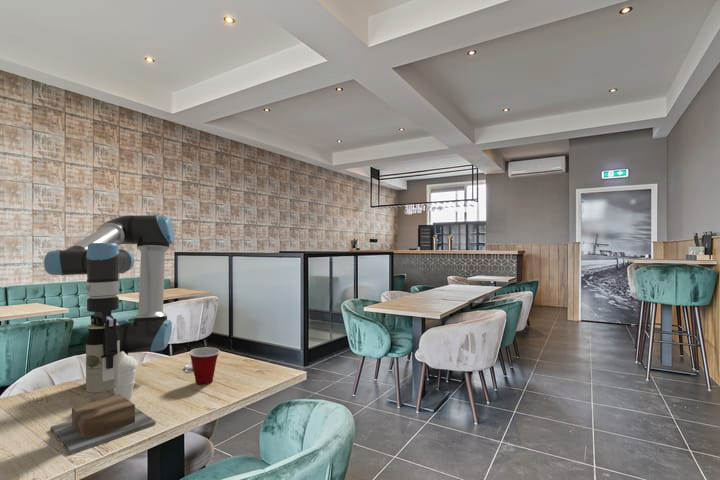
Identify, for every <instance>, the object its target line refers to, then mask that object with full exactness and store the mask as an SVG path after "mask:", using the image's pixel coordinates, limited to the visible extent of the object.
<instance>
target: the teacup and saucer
mask: <svg viewBox="0 0 720 480" xmlns="http://www.w3.org/2000/svg"><path fill="white" fill-rule="evenodd" d="M190 361H191V360H190ZM190 363H191V364H190ZM190 363H189V364H185V365H184V366H183V368H184V372H186V373H190V374H191V373H193V371H190V370H193V365H192V361H191V362H190Z"/></svg>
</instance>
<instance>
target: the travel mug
mask: <svg viewBox="0 0 720 480" xmlns="http://www.w3.org/2000/svg"><path fill="white" fill-rule="evenodd" d="M118 324H119V323H117V322H116V334H117V351H118V354H116V355H115V356H114V379H112V380H107V381H102V358H101V356H102V355H104V353H103V338H102V333H100V331H103V332H105V326H101V327H99V326H98V325H93V324H92V325H91V324H90V325H87V326H86V328H87V329H88V331H87V332H88V334H87V336H86V337H85V391H86V392H88V393H92V394H93V393H95V394H96V393H102V392H108V391H111V390H114V388H116V387H117V386H119V385H120V334H119V332H118V331H117V326H118Z"/></svg>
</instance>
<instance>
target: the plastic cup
mask: <svg viewBox="0 0 720 480" xmlns="http://www.w3.org/2000/svg"><path fill="white" fill-rule="evenodd" d="M220 351H221V350H220V349H218V348H215V347H198V348H194V349H191V350H190V351H189V356H190V361H192V365H193V369H192V372H193V376H194V380H195V384H196V385H197V386H207V385H210V384H211V383H213V381H214V375H215V371H216V364H217V359H218V356H219V354H220Z"/></svg>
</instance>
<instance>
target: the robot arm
mask: <svg viewBox="0 0 720 480" xmlns="http://www.w3.org/2000/svg"><path fill="white" fill-rule="evenodd" d="M174 243H175V230H174V224H173V222H172V220H171V218H170V217H169V216H166V215H158V214H157V215H155V214H154V215H152V214H151V215H149V214H148V215H146V214H145V215H122V216H119V217H116V218H113V219H110V220H108V221H106V222H103V223H102V224H100V225H99V226H98V227H97V229H96V231H94V232H92V233H91V234H89V235H87V236H86V237H84V238H83V239H82V240H79V241H77V242H76V243H75V244H73V245H71V246H70V247H68V248H66V249H63V250H61V249H57V250H50V251H47V253H46V254H45V255H44V259H43V267H44V270H45V272H46V273H47V274H49V275H51V276H61V277H62V276H73V275H74V276H76V275H77V276H78V275H79V276H80V275H86V279H87V280H86V285H85V286H84V290H86V295H87V297H88V298H87V299H86V310H87V312H88V313H94V314H91V315H90V325H92V324H93V325H98V326H99V327H101V326H105V332H103V331H100V333H102V338H103V353H104V355H102V356H101V358H102V381H107V380H112V379H114V356H115V355H116V354H118V351H117V334H116V322H117V323H119V324H118V326H117V331H118V332H119V334H120V352H122V351H123V352H124V353H125V354H126V355H128V356H129V354H132V353H134V354H135V353H145V352H146V353H147V352H151V353H152V352H159V351H163V350H165V349H166V348H167V347H168V345H169V342H170V340H171V335H172V329H173V325H172V324H173V323H172V320H171V319H168V315H167V314H166V313H165V312H164V295H165V293H164V291H165V265H166V263H165V262H166V261H165V260H166V252H168V250H169V249H170V245H172V244H174ZM120 245H136V249H137V250H139V251H140V264H139V265H140V267H139V289H138V290H139V291H138V310H137V311H138V313H137V314H136V315H134V316H133V319H132V320H133V321H129V319H128V318H126V317H124V318H123V317H121V318H116V317H115V318H114V317H113V314H112V311H115V310H118V309H119V308H120V305H119V303H120V302H119V301H120V300H119V296H118V295H119V294H120V281H119V274H124V273H127V272H128V271H130V270H131V269H132V268H133V267H134V264H135V257H134V255H133V254H132V252H130V251H128V250H125V249H122V248H120V249H119V246H120Z"/></svg>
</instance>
